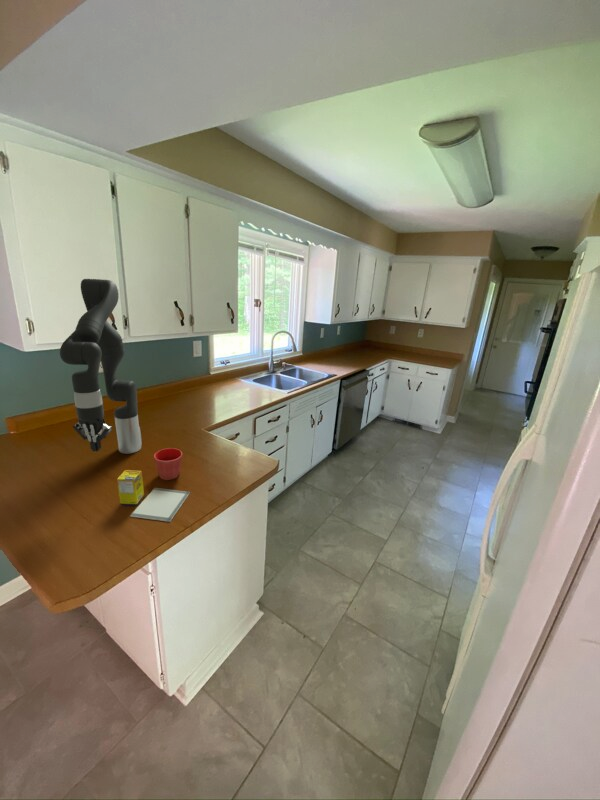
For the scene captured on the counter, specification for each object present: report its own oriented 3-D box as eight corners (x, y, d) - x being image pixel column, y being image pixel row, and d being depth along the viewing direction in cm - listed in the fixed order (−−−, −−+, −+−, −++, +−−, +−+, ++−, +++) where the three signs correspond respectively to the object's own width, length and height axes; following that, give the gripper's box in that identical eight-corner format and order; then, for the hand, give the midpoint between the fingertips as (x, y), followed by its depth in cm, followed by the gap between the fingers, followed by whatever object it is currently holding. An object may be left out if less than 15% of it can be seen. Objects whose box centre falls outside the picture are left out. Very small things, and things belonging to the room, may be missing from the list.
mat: (154, 488, 122) (154, 487, 122) (190, 492, 121) (190, 491, 121) (130, 516, 107) (130, 515, 107) (170, 521, 106) (170, 520, 106)
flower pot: (184, 467, 137) (183, 447, 134) (181, 481, 127) (180, 460, 124) (158, 468, 135) (157, 448, 132) (153, 483, 125) (151, 461, 122)
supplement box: (144, 495, 117) (142, 470, 114) (137, 506, 112) (134, 479, 108) (128, 494, 117) (125, 469, 113) (120, 505, 112) (116, 479, 108)
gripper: (115, 401, 106) (121, 447, 112) (78, 397, 107) (86, 443, 113) (100, 409, 99) (107, 457, 105) (60, 405, 100) (69, 453, 106)
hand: (96, 450), depth 109 cm, fingers closed
